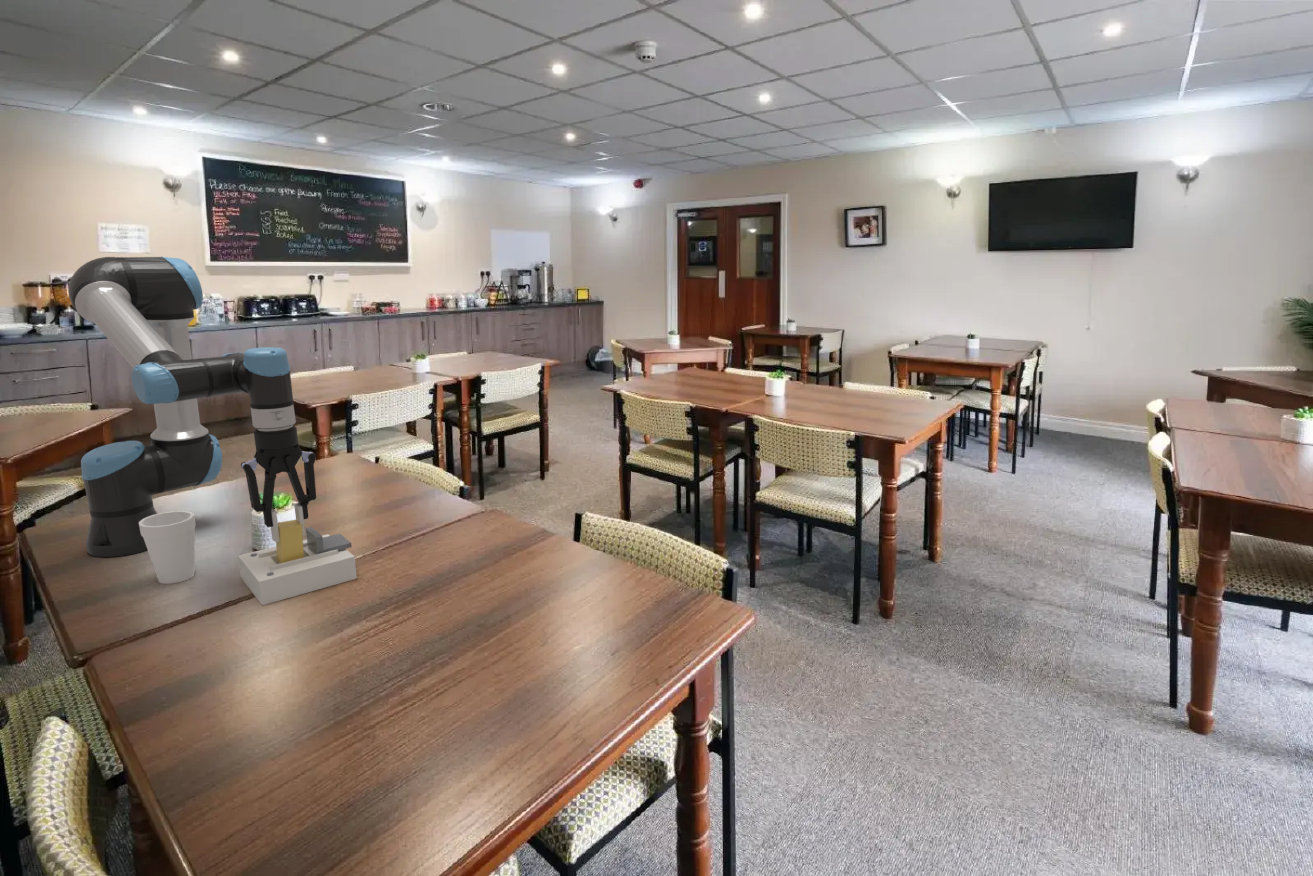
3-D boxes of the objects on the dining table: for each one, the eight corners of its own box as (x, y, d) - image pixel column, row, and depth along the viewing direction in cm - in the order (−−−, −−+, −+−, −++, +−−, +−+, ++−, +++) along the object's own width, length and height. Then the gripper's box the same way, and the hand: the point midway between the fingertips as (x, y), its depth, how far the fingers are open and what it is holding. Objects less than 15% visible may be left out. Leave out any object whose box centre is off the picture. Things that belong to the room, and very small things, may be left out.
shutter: (307, 545, 151) (305, 528, 150) (340, 537, 156) (338, 520, 155) (318, 555, 147) (316, 537, 146) (351, 547, 151) (349, 529, 150)
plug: (277, 560, 146) (274, 523, 144) (298, 555, 149) (295, 519, 147) (282, 566, 143) (280, 528, 141) (304, 561, 146) (301, 524, 144)
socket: (241, 577, 148) (237, 552, 147) (330, 554, 160) (327, 530, 158) (262, 605, 137) (258, 577, 135) (356, 578, 148) (354, 553, 147)
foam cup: (176, 589, 142) (165, 529, 139) (137, 584, 144) (126, 525, 141) (213, 569, 152) (204, 512, 148) (177, 565, 153) (167, 509, 150)
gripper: (230, 437, 131) (247, 554, 137) (327, 423, 142) (338, 532, 148) (220, 430, 136) (237, 542, 142) (314, 417, 148) (326, 522, 153)
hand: (289, 537), depth 145 cm, fingers closed on plug, 4 cm apart
